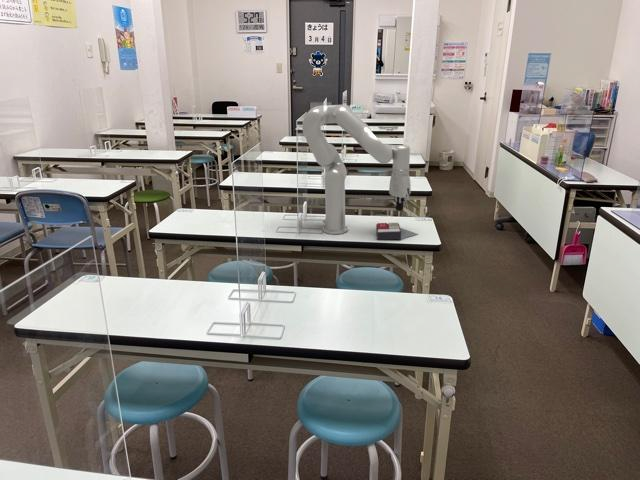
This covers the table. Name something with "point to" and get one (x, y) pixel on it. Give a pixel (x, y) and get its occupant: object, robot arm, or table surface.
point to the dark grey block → (388, 231)
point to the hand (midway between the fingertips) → (399, 210)
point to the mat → (406, 233)
